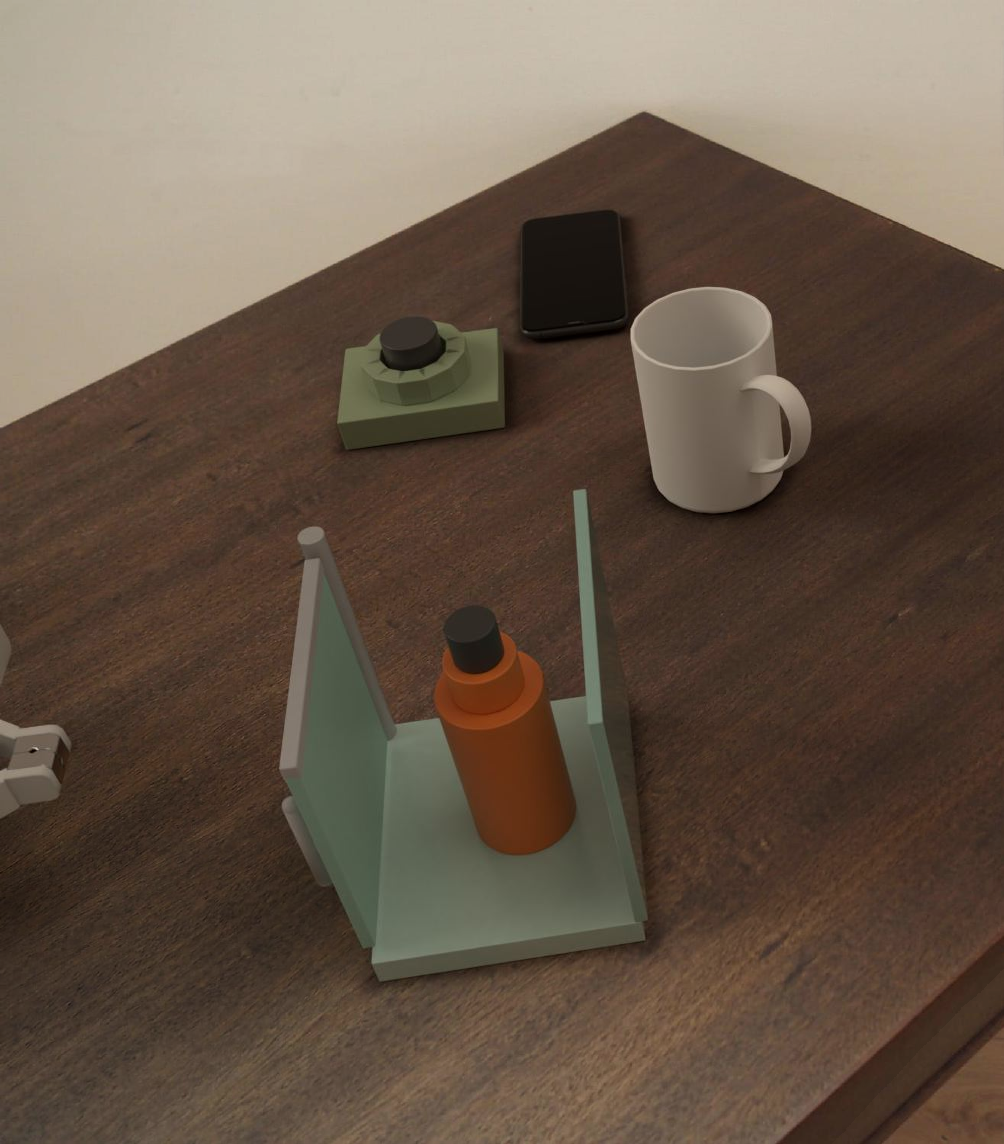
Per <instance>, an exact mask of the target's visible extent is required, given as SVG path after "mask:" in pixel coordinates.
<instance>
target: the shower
mask: <svg viewBox="0 0 1004 1144" xmlns="http://www.w3.org/2000/svg"><path fill="white" fill-rule="evenodd" d="M588 497H589V496H588V491H587V489H586V488H581V489H574V490H573V492H572V498H573V500H572V501H573V513H574V528H575V529H574V531H575V546H576V561H577V576H578V579H577V580H578V592H579V594H578V595H579V610H580V625H581V626H580V627H581V640H582V642H581V643H582V656H583V657H582V658H583V672H584V687H585V688H584V689H585V695H582V696H577V697H576V696H575V697H569V698H562V699H556V700H555V699H554V700H550V704H551V708H552V711H553V715H554V719H555V723H556V727H557V731H558V734H559V738H560V742H561V746H562V750H563V754H564V758H565V761H566V765H567V769H568V773H569V777H570V781H571V785H572V788H573V792H574V796H575V800H576V814H575V818H574V821H573V823H572V825H571V827H570V828H569V830H568V831H567V833H566V834H565V835H564V836H563V837H562V838H561V839H560V840H559V841H557V842H556V843H555V844H553V845H551V846H550V847H548V848H546V849H544V850H541V851H539V852H535V853H531V854H526V855H510V854H505V853H501V852H498V851H496V850H494V849H492V848H491V847H489V846H488V845H487V844H485V842H484V841H483V840H482V839H481V837H480V836H479V834H478V832H477V829H476V826H475V823H474V820H473V817H472V814H471V811H470V808H469V805H468V802H467V799H466V796H465V793H464V790H463V787H462V784H461V781H460V779H459V776H458V773H457V770H456V767H455V764H454V761H453V758H452V755H451V752H450V749H449V746H448V743H447V740H446V737H445V734H444V731H443V728H442V725H441V722H440V719H439V717H434V718H428V719H421V720H416V721H415V720H414V721H408V722H400V723H396V722H395V720H394V717H393V714H392V711H391V708H390V706H389V704H388V701H387V698H386V696H385V692H384V690H383V687H382V684H381V683H380V682H381V681H380V680H379V676H378V673H377V671H376V668H375V665H374V663H373V660H372V657H371V655H370V652H369V649H368V646H367V644H366V641H365V638H364V635H363V633H362V631H361V628H360V624H359V622H358V619H357V616H356V613H355V612H354V608H353V606H352V603H351V600H350V597H349V595H348V592H347V589H346V588H345V584H344V581H343V579H342V575H341V573H340V570H339V568H338V566H337V565H338V564H337V562H336V560H335V557H334V555H333V552H332V549H331V545H330V543H329V541H328V537H327V535H326V532H325V530H324V529H323V528H322V527H320V526H317V525H316V526H308V527H306V528H303V529H302V530H301V531H300V532H299V533H298V535H297V537H296V539H297V542H298V545H299V548H300V550H301V553H302V556H303V557H304V561H305V560H309V559H316V558H319V559H320V560H321V563H322V566H323V568H324V574H325V577H326V579H327V582H328V585H329V587H330V590H331V593H332V595H333V598H334V601H335V603H336V606H337V608H338V611H339V614H340V616H341V619H342V622H343V624H344V627H345V630H346V632H347V635H348V638H349V640H350V643H351V646H352V648H353V651H354V653H355V656H356V659H357V661H358V664H359V667H360V669H361V672H362V675H363V677H364V680H365V683H366V685H367V688H368V691H369V693H370V696H371V698H372V701H373V704H374V706H375V709H376V712H377V714H378V717H379V720H380V722H381V725H382V728H383V730H384V733H385V736H386V738H387V757H386V774H385V792H384V809H383V826H382V844H381V861H380V878H379V896H378V913H377V930H376V945H375V946H374V947H371V962H370V964H371V966H372V968H373V970H374V973H375V975H376V977H377V979H378V981H379V982H380V983H381V982H388V981H394V980H399V979H400V980H401V979H407V978H414V977H419V976H420V977H421V976H426V975H431V974H432V975H433V974H439V973H446V972H452V971H459V970H464V969H465V970H466V969H470V968H477V967H478V968H479V967H484V966H491V965H497V964H503V963H510V962H516V961H523V960H528V959H535V958H542V957H547V956H555V955H561V954H567V953H568V954H569V953H574V952H581V951H587V950H593V949H600V948H607V947H612V946H619V945H626V944H631V943H637V942H644V941H646V938H647V937H646V926H645V922H646V921H648V919H649V914H648V904H647V894H646V893H647V892H646V881H645V871H644V859H643V858H644V857H643V849H642V837H641V826H640V815H639V803H638V791H637V781H636V771H635V759H634V747H633V746H634V745H633V736H632V724H631V715H630V713H631V712H630V704H629V703H630V702H629V692H628V686H627V680H626V675H625V671H624V666H623V661H622V656H621V650H620V647H619V641H618V637H617V633H616V628H615V622H614V618H613V612H612V607H611V603H610V599H609V594H608V593H609V592H608V588H607V584H606V579H605V574H604V568H603V564H602V560H601V555H600V549H599V545H598V540H597V536H596V530H595V526H594V521H593V516H592V510H591V506H590V502H589V498H588Z"/></svg>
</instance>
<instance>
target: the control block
mask: <svg viewBox="0 0 1004 1144" xmlns="http://www.w3.org/2000/svg"><path fill="white" fill-rule="evenodd" d="M432 321H433V322H434V323H435V324H436V326H437V329H438V333H439V337H440V341H441V344H442V348H443V351H442V355H441V357H440V358H439V360H438V361H437V362H435V363H433V364H431V365H428V366H426V367H424V368H422V369H417V370H410V371H398V370H394V369H392V368H390V367H389V366H388V365H387V363H386V360H385V357H384V353H383V350H382V347H381V343H380V340H379V337H380V333H378V334H376V335H375V336H374V337H373V338H372V339H371V340H370V341H369V343H367V344H366V345H364V346H356V347H350V348H349V347H348V348H346V349H345V351H344V359H343V368H342V377H341V387H340V394H339V402H338V403H339V405H338V412H337V421H336V422H337V427H338V429H339V434H340V436H341V438H342V439H341V440H342V441H343V445H344V448H345V450H346V451H351V450H357V449H363V448H373V447H377V446H384V445H392V444H399V443H400V444H401V443H406V442H407V443H408V442H412V441H413V442H414V441H420V440H428V439H434V438H435V439H436V438H443V437H448V436H455V435H464V434H469V433H470V434H471V433H476V432H477V433H478V432H483V431H484V432H485V431H491V430H497V429H504V428H506V417H505V415H506V414H505V413H506V410H505V409H506V407H505V353H504V350H503V345H502V342H501V336H500V332H499V328H498V327H493V328H486V329H478V330H472V331H464V332H462V331H460V330H459V329H458V328H456V327H455V326H454V325H453V324H451V323H446V322H441V321H436V320H432Z"/></svg>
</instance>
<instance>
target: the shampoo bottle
mask: <svg viewBox="0 0 1004 1144" xmlns="http://www.w3.org/2000/svg"><path fill="white" fill-rule="evenodd" d="M443 633H444V637H445V640H446V643H447V645H448V646H447V648H446V650H445V651H444V653H443V655H442V660H441V665H442V666H441V667H442V669H443V670H442V671H443V673H442V674H441V675H440V676H439V678H438V680H437V682H436V684H435V687H434V691H433V703H434V707H435V710H436V712H437V716H438V718H439V719H440V722H441V725H442V728H443V731H444V734H445V737H446V740H447V743H448V746H449V749H450V752H451V755H452V758H453V761H454V764H455V767H456V770H457V773H458V776H459V779H460V781H461V784H462V787H463V790H464V793H465V796H466V799H467V802H468V805H469V808H470V811H471V814H472V817H473V820H474V823H475V826H476V829H477V832H478V834H479V836H480V837H481V839H482V840H483V841H484V842H485V844H487V845H488V846H489V847H491V848H492V849H494V850H496V851H498V852H501V853H505V854H510V855H526V854H531V853H535V852H539V851H541V850H544V849H546V848H548V847H550V846H551V845H553V844H555V843H556V842H557V841H559V840H560V839H561V838H562V837H563V836H564V835H565V834H566V833H567V831H568V830H569V828H570V827H571V825H572V823H573V821H574V818H575V814H576V800H575V796H574V792H573V788H572V785H571V781H570V777H569V773H568V769H567V765H566V761H565V758H564V754H563V750H562V746H561V742H560V738H559V734H558V731H557V727H556V723H555V719H554V715H553V711H552V708H551V704H550V701H551V699H550V695H549V693H548V688H547V684H546V680H545V677H544V674H543V671H542V668H541V666H540V665H539V664H538V662H537V661H536V660H535V659H534V658H532V656H530V655H529V654H528V653H525V652H523V651H521V650H518V649H517V645H516V643H515V641H514V640H513V639H512V637H510V635H508V634H506V633H504V632H502V631H500V628H499V624H498V621H497V617H496V615H495V613H494V611H492V610H491V609H490V608H488V607H487V606H483V605H478V604H472V605H471V604H469V605H466V606H461V607H460V608H458V609H456V610H454V611H453V612H451V613H450V614H449V615H448V616H447V618H446V619H445V621H444V625H443Z"/></svg>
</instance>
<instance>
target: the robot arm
mask: <svg viewBox="0 0 1004 1144" xmlns="http://www.w3.org/2000/svg"><path fill="white" fill-rule="evenodd" d="M11 655H12V643H11V641H10V639H9V637H8V635H7V634H6V632H5V630H4V628H3V626H2V624H1V623H0V689H1V687H2V684H3V682H4V681H3V680H4V677H5V674H6V671H7V667H8V665H9V661H10V658H11ZM71 749H72V742H71V740H70V737H68V734H67V733H66V731H65V730H64V728H63V727H61V726H59V725H57V724H44V725H43V724H42V725H37V726H30V727H28V726H27V727H22V728H21V727H20V726H19V725H16V724H15V723H11V722H9V721H6V720H3V719H1V718H0V758H3V759H7V760H9V763H8V766H7V767H5V768H3V769H1V770H0V820H1V819H3V818H4V817H6V816H8V815H10V814H11V813H12V812H13V813H14V811H17V810H18V809H19V808H21V806H22V805H23V806H24V805H30V804H36V803H37V804H38V803H43V802H50V801H55V800H57V799H58V798H59V797H60V794H61V793H60V792H61V789H62V786H63V785H62V784H63V780H64V776H65V773H66V768H67V764H68V761H69V758H70V753H71Z"/></svg>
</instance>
